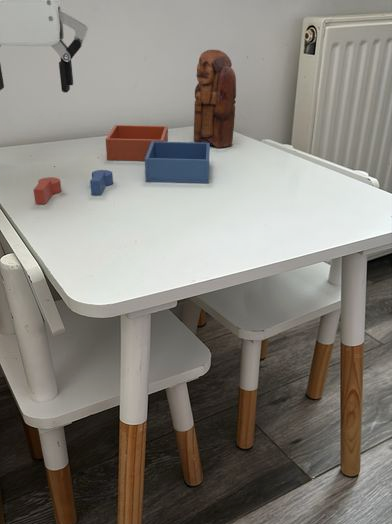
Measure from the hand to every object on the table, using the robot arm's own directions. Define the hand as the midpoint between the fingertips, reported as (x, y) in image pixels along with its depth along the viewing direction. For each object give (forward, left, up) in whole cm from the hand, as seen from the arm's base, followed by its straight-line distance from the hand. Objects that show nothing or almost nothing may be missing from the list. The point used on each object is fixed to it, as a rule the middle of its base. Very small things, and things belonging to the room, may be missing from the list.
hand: (32, 90), depth 81 cm
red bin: (+11, +30, -16) cm, 36 cm away
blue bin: (+20, +17, -16) cm, 31 cm away
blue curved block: (+7, +7, -16) cm, 19 cm away
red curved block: (-1, +2, -16) cm, 16 cm away
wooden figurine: (+26, +40, -16) cm, 51 cm away
